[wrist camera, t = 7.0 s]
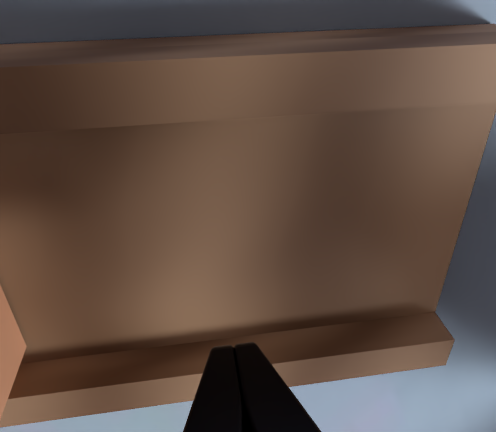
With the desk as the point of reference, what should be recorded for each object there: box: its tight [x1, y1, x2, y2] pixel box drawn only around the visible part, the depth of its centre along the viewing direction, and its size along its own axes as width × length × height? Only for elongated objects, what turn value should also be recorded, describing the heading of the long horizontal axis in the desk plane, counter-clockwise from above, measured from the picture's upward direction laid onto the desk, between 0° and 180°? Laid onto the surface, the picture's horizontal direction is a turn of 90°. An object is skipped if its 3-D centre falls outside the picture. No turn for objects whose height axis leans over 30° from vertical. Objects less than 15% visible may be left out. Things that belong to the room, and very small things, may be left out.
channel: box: [0, 24, 496, 427], centre depth 10 cm, size 20×10×4 cm, turn 91°
